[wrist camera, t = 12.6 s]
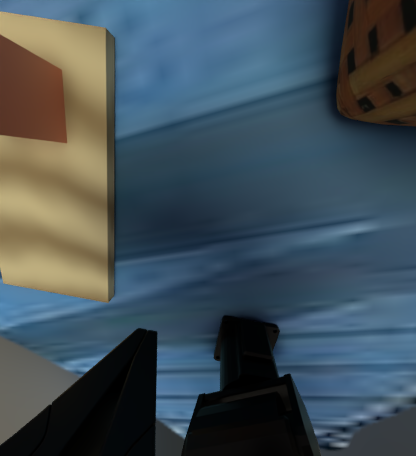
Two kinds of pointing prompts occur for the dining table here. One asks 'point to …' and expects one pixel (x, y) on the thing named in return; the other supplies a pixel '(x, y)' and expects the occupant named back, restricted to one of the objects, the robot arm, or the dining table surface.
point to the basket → (379, 62)
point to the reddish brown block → (30, 95)
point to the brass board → (62, 169)
